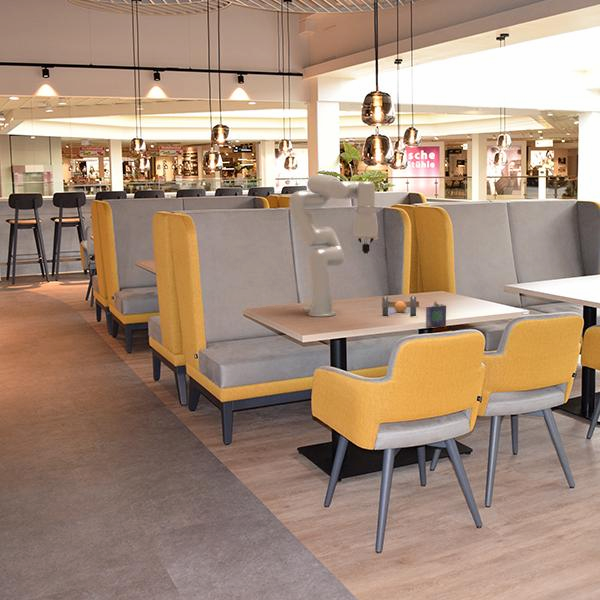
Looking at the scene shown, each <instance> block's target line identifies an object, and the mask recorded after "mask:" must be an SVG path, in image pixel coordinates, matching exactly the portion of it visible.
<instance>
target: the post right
mask: <svg viewBox="0 0 600 600" xmlns="http://www.w3.org/2000/svg"><path fill="white" fill-rule="evenodd" d="M409 298H410V300H409V301H410V307H409V309H410V314H409V315H410V316H409V317H411V316H416V317H417V307H416V301H417V296H410V297H409Z"/></svg>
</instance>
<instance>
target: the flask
mask: <svg viewBox="0 0 600 600" xmlns="http://www.w3.org/2000/svg"><path fill="white" fill-rule="evenodd" d="M446 324H447V305H446V304H442V303H438V302H437V301H436V300H435V301H433V305H428V306H427V305H426V307H425V327H426V328H438V327H440V328H442V327H446Z"/></svg>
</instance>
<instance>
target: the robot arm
mask: <svg viewBox="0 0 600 600" xmlns="http://www.w3.org/2000/svg"><path fill="white" fill-rule="evenodd" d="M306 182H307V183H306V185H307V189H306V190H305V189H304V190H303V189H302V190H296V191H295V192H293V193H292V194H291V196H290V197H289V205H288V206H289V210H290V213H291V215H292V217H293V219H294V220H295V222H296V224H297V226H298V229H299V231H300V233H301V236H302V238H303V241H304V243H305V245H306V246H307V247H308V248H313V249H311V250H310V251H309V253H308V263H309V268H310V278H311V279H310V282H311V283H310V284H311V288H310V289H311V305H309V306H307V305H306V306H305V305H302V311H308V316H311V317H318V318H319V317H320V318H321V317H333V316H335V315H336V311H334V310H333V293H332V291H333V288H332V287H333V285H332V283H333V282H332V274H331V272H330V270H329V268H333V267H338V266H341V265H342V264H344V261H345V253H344V250H343V247H342V245H341V243H340V240H339V237H338V235H337V233H336V231H335V230H334V229H333V228H332V227H330V226H319V225H318V222H317V220H316V218H315V216H314V215H313V214H312V212H310V211H309V210H308V209H319V208H322V207H324V206H325V205H326V204H328V202H329V200H330V199H339V200H351V199H353V200H354V199H356V207H355V208H353V212H356V213H355V215H354V222H353V240H354V241H359V243H360V244H361V245H362V248H361V249H362V253H363V254H366V255H368V253H369V252H370V244H371V243H372V242H373V241H376V240H379V235H378V233H379V229H378V228H379V225H378V216H377V213H375V212H376V208H375V207H376V206H375V204H376V203H375V202H376V201H375V199H376V196H375V195H376V193H375V188H376V187H375V186H376V185H375V183H374V182H373V181H359V180H357V181H356V180H349V181H345V180H344V181H340V179H338V178H337V177H335V176H334V175H332V174H317V175H316V174H315V175H313V176H311V177H309V179H308V180H307V181H306ZM365 238H367V242H365Z"/></svg>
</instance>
